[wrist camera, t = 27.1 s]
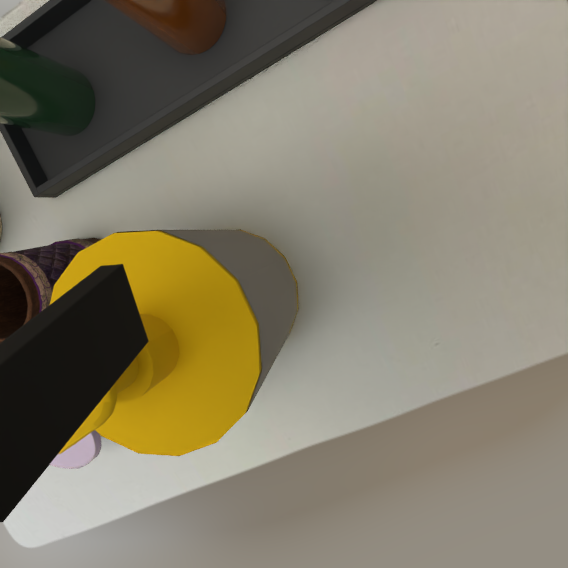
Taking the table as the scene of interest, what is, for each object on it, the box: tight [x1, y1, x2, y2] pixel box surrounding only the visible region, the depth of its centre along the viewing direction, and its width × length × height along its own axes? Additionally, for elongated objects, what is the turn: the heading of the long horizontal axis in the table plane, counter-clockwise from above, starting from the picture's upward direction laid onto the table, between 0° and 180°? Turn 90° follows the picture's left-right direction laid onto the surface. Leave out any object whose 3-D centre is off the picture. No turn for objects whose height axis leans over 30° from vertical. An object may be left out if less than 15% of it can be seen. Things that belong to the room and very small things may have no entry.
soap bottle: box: [50, 230, 298, 456], centre depth 30 cm, size 13×13×21 cm
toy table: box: [49, 430, 101, 469], centre depth 43 cm, size 10×9×6 cm
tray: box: [0, 0, 377, 197], centre depth 36 cm, size 37×12×3 cm, turn 117°
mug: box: [0, 238, 101, 343], centre depth 37 cm, size 10×7×12 cm
